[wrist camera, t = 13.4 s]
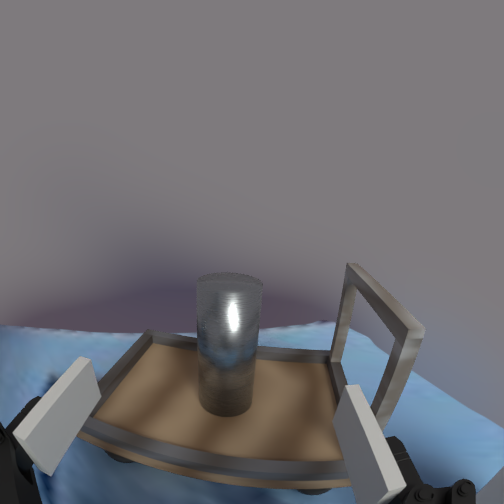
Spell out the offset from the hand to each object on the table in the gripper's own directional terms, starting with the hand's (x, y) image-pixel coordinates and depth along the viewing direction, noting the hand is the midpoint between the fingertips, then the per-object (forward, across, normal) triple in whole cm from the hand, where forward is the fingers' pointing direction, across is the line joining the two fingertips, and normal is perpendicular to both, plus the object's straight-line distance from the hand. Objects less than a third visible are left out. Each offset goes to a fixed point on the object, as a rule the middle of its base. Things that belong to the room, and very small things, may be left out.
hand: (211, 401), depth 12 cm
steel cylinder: (+10, 0, -9) cm, 13 cm away
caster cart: (+10, 0, -15) cm, 18 cm away
